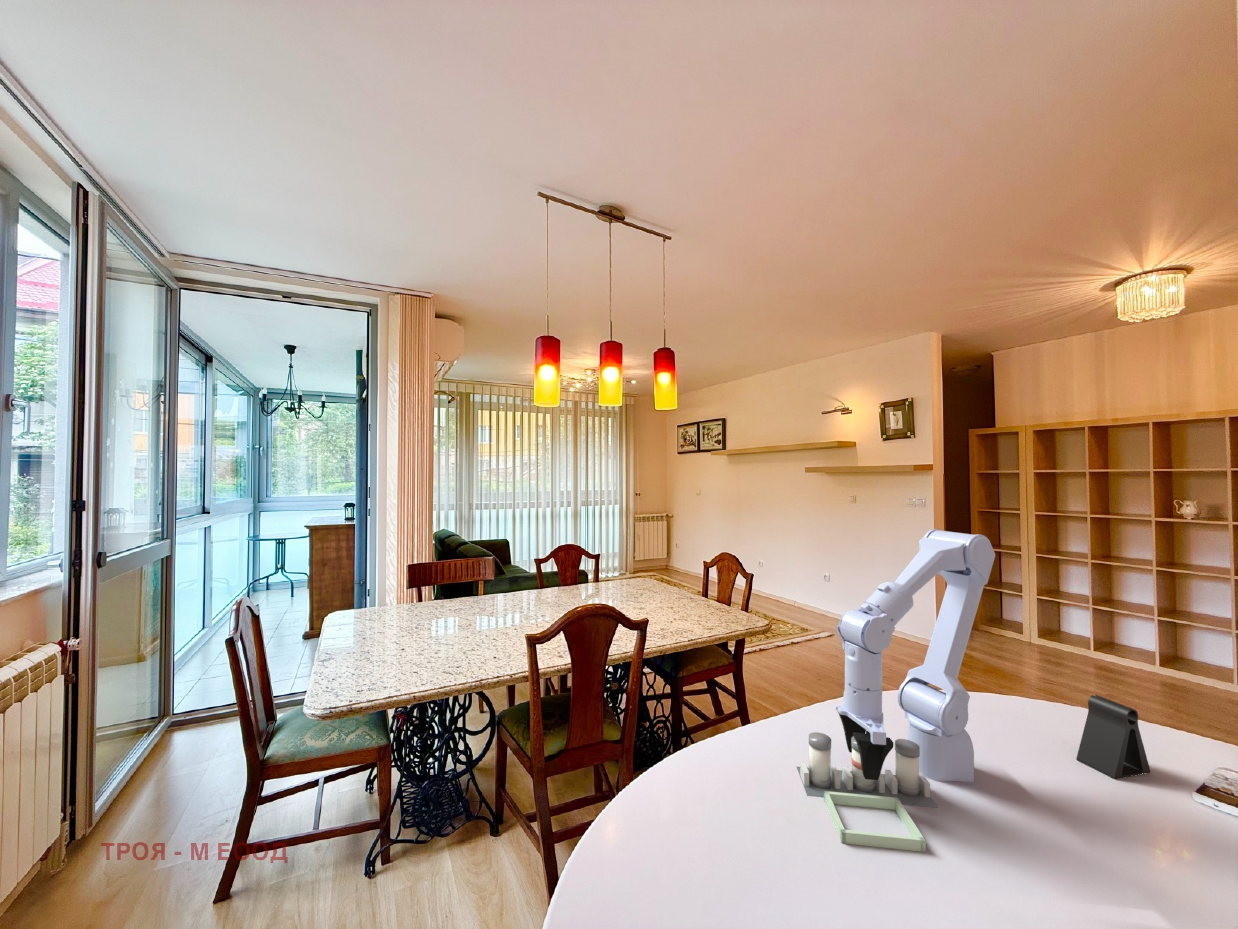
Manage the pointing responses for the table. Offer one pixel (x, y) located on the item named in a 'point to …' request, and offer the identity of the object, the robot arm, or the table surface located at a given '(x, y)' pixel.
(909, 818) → the tray
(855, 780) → the marked fuse
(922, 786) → the clip board
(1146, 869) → the table surface
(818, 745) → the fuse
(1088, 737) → the phone stand
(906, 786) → the fuse
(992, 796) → the table surface
